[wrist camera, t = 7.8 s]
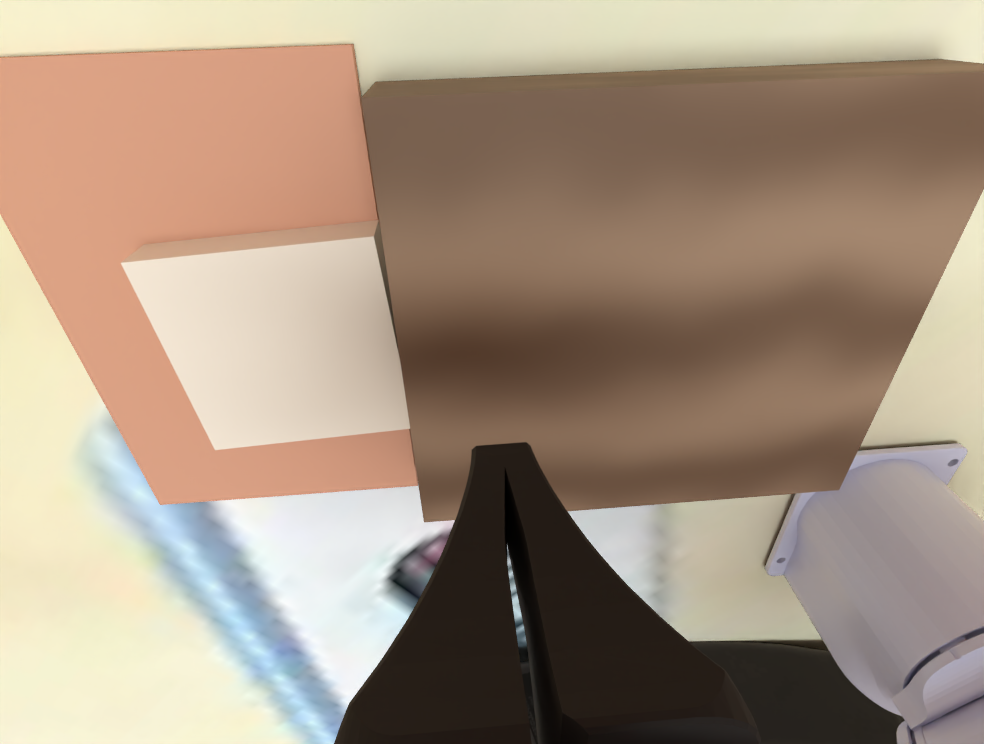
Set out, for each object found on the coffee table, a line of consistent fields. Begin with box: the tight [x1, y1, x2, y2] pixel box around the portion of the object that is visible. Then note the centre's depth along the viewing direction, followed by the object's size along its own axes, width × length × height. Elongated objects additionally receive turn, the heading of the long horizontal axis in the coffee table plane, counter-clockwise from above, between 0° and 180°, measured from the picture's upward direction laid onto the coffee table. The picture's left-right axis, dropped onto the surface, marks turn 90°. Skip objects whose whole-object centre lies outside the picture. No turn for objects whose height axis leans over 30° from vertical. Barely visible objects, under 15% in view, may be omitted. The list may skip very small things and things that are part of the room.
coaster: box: [121, 220, 410, 450], centre depth 20 cm, size 8×8×2 cm
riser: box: [361, 59, 984, 522], centre depth 20 cm, size 16×18×4 cm
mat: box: [0, 44, 418, 505], centre depth 20 cm, size 18×12×1 cm, turn 2°
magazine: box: [520, 641, 905, 744], centre depth 33 cm, size 17×3×30 cm
